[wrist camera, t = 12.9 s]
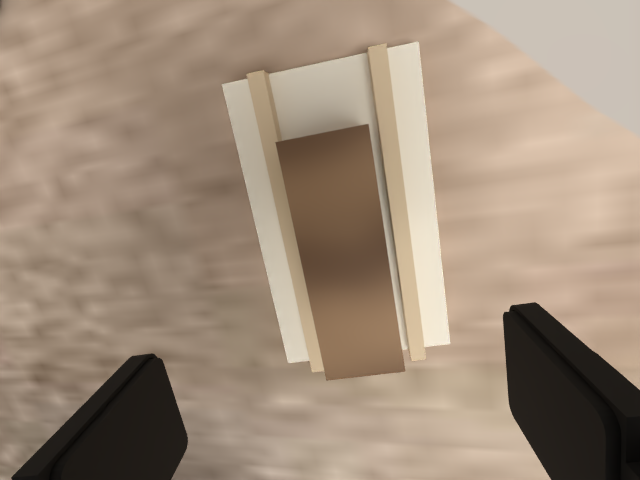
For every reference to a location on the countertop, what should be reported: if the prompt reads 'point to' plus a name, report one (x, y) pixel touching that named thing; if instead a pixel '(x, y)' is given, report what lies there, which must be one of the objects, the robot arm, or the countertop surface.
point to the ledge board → (391, 171)
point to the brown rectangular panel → (343, 250)
